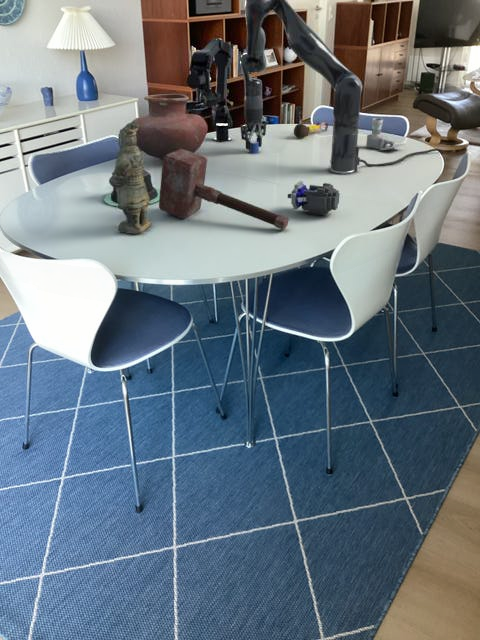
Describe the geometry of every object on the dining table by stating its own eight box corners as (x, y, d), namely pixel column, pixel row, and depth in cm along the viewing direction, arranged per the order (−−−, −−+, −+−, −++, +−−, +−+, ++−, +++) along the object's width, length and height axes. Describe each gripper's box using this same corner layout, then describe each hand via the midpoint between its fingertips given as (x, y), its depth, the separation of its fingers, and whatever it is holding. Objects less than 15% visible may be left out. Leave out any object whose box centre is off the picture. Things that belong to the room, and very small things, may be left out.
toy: (295, 178, 172) (342, 184, 166) (295, 205, 177) (340, 211, 171) (285, 186, 166) (333, 192, 160) (284, 213, 170) (331, 220, 164)
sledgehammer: (299, 190, 156) (179, 147, 167) (285, 200, 148) (161, 154, 160) (286, 244, 166) (174, 200, 177) (272, 256, 158) (156, 209, 170)
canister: (248, 151, 239) (248, 141, 237) (257, 150, 240) (257, 140, 237) (250, 153, 236) (250, 143, 233) (259, 153, 236) (259, 142, 234)
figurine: (335, 120, 268) (311, 122, 249) (333, 136, 271) (309, 140, 252) (311, 118, 275) (286, 120, 256) (309, 134, 278) (284, 137, 259)
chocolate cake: (91, 202, 180) (113, 186, 197) (142, 231, 182) (160, 212, 199) (107, 162, 172) (129, 148, 190) (160, 192, 174) (177, 176, 192)
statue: (131, 220, 168) (117, 116, 152) (158, 224, 164) (147, 118, 149) (109, 233, 159) (93, 124, 144) (138, 237, 156) (124, 126, 140)
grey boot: (376, 116, 238) (408, 121, 230) (373, 144, 244) (404, 150, 236) (365, 119, 233) (397, 124, 224) (362, 148, 239) (393, 154, 230)
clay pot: (215, 151, 239) (212, 89, 226) (198, 171, 213) (194, 102, 201) (147, 150, 244) (141, 89, 231) (123, 168, 218) (114, 101, 206)
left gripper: (191, 89, 219) (193, 130, 227) (232, 85, 227) (233, 125, 234) (179, 86, 227) (182, 126, 235) (219, 82, 235) (221, 121, 243)
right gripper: (258, 103, 235) (258, 143, 243) (234, 108, 226) (235, 150, 235) (271, 105, 230) (271, 146, 239) (248, 110, 221) (248, 152, 230)
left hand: (205, 124), depth 237 cm, fingers open, 9 cm apart
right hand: (253, 148), depth 237 cm, fingers open, 6 cm apart
